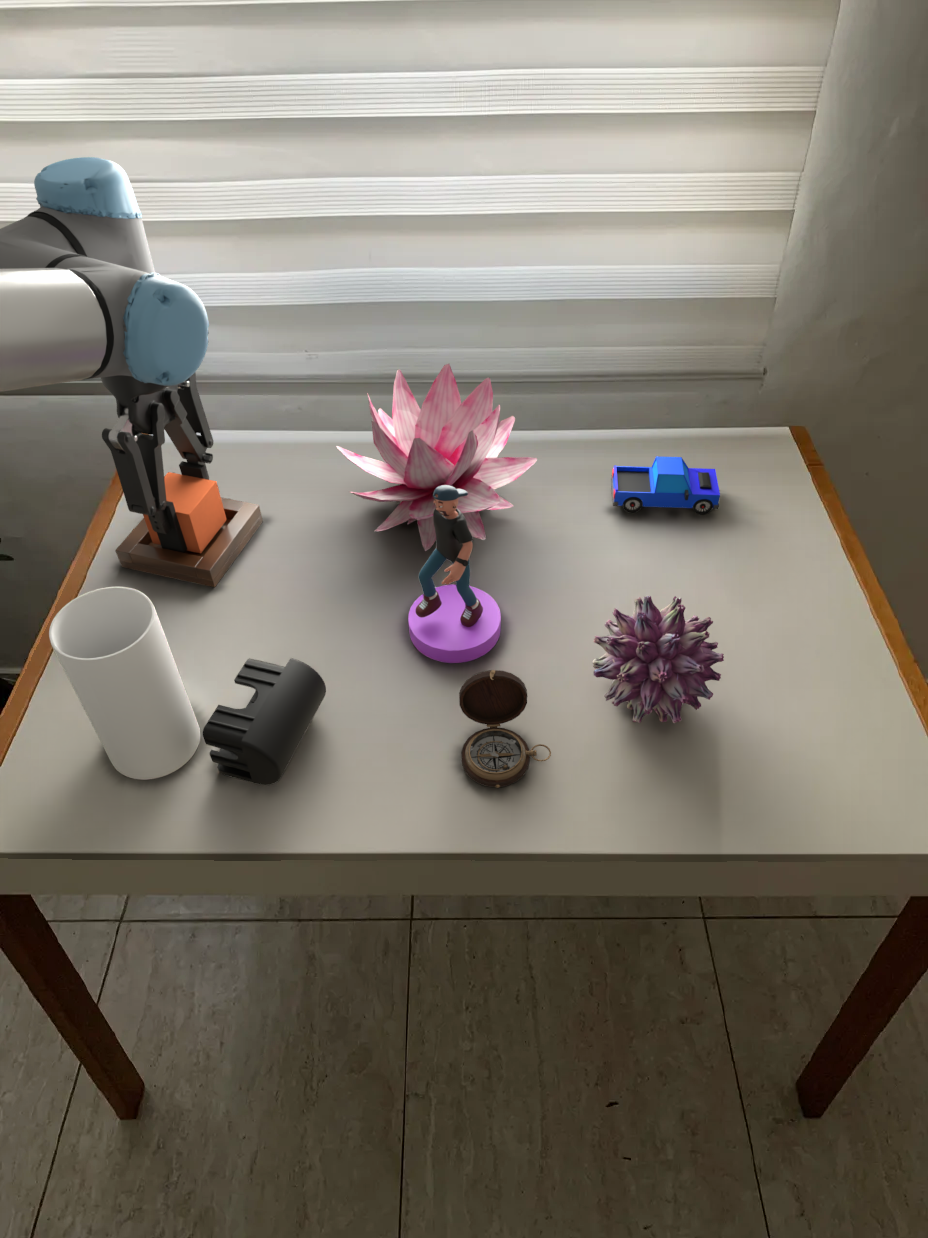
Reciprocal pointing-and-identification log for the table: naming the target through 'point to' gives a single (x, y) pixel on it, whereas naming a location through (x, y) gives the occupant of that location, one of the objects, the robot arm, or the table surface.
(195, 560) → the brown wooden tray
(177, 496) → the orange cube
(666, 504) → the toy car
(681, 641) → the flower
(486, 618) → the figurine
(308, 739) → the table surface
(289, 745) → the end cap
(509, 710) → the compass
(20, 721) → the table surface
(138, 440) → the robot arm
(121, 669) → the cup
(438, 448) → the decorative flower
